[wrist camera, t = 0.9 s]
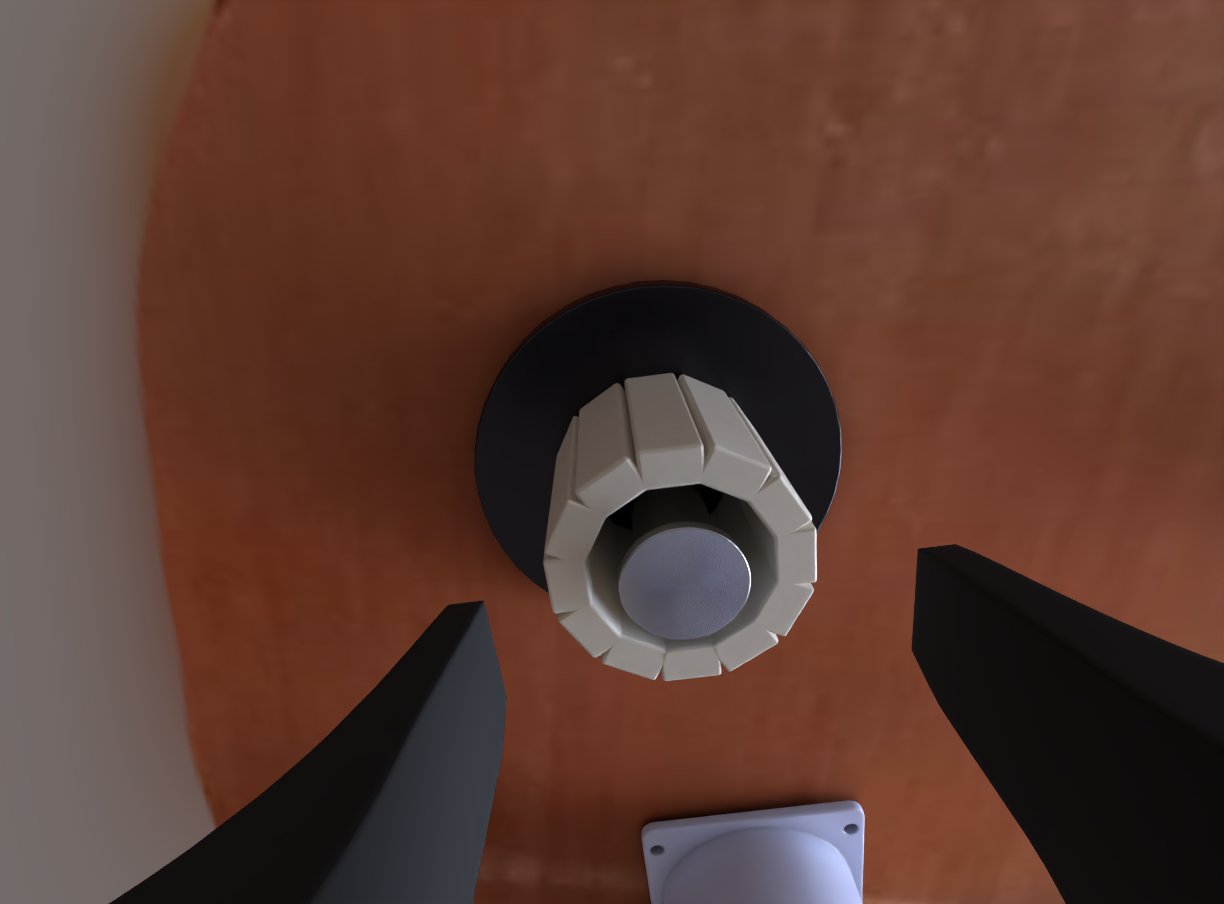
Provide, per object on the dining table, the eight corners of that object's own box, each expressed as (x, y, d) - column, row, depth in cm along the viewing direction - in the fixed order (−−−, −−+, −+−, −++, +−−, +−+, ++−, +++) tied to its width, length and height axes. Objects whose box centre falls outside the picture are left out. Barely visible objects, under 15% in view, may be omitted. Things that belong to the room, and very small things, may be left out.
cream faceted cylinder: (763, 546, 19) (818, 664, 14) (573, 570, 19) (567, 694, 15) (756, 361, 17) (817, 429, 12) (542, 388, 17) (524, 465, 12)
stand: (832, 587, 21) (926, 748, 15) (513, 625, 21) (483, 798, 15) (833, 256, 17) (961, 295, 11) (443, 306, 17) (366, 373, 11)
